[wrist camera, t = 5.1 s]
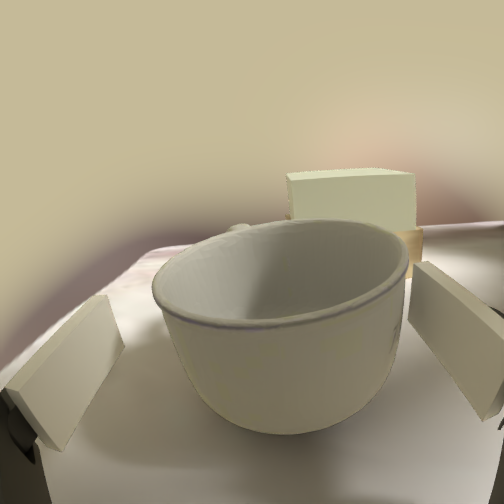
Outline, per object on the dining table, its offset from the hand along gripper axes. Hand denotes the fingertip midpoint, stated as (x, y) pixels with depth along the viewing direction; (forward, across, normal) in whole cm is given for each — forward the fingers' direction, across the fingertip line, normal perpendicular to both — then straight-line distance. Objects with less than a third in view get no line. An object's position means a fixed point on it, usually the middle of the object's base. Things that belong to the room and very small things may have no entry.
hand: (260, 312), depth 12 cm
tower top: (+19, +9, -1) cm, 21 cm away
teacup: (+3, +1, -6) cm, 7 cm away
